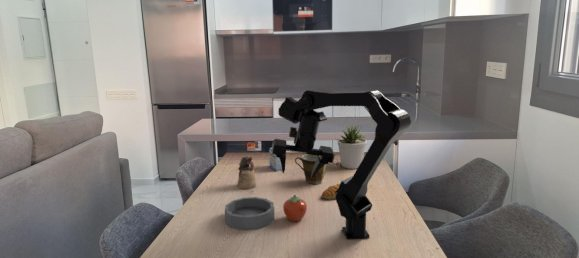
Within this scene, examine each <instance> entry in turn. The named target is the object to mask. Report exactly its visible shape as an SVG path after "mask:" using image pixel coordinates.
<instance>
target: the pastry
mask: <svg viewBox="0 0 579 258" xmlns="http://www.w3.org/2000/svg"><path fill="white" fill-rule="evenodd" d="M339 186H340V183H337V184H334V185H331V186H330V185H329V186H328V188H326V189H324V190H323V192H322V193H321V195H322V196H321V198H323V199H326V200H328V201H331V200H336V199H335V196H336V194H337V193H336V192H335V191H336V190H338V188H339Z"/></svg>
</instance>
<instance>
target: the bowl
mask: <svg viewBox="0 0 579 258" xmlns="http://www.w3.org/2000/svg"><path fill="white" fill-rule="evenodd" d="M224 220H225V224H226V225H228V226H229V227H230V228H232V229H237V230H241V231H248V230H258V229H262V228H264V227H268V226H269V225H271V223H272V222H274V221H275V205H274V202H272V201H271V200H270V199H268V198H263V197H257V196H252V197H251V196H250V197H242V198H237V199H234V200H231V201H230V202H228V203H227V204H225V208H224Z"/></svg>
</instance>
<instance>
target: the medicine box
mask: <svg viewBox="0 0 579 258" xmlns="http://www.w3.org/2000/svg"><path fill="white" fill-rule="evenodd" d="M268 153H269V155H268V156H269V159H268V160H269V167H270V168H271V169H273V170H274V171H275V172H282V165H281V161H280V158H279V157H276V155H274V154H273V153H272V147H269V150H268Z"/></svg>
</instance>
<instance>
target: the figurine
mask: <svg viewBox="0 0 579 258" xmlns="http://www.w3.org/2000/svg"><path fill="white" fill-rule="evenodd" d="M238 166H239V167H238V168H237V170H238V180H237V188H239V189H242V190H250V189H254V188H255V187H257V184H258V183H257V177H256V171H255V170H254V167H255V165H254V162H253V157H252V156H250V157H249V155H244V156H243V157H241V159H240V162H239V163H238Z"/></svg>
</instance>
